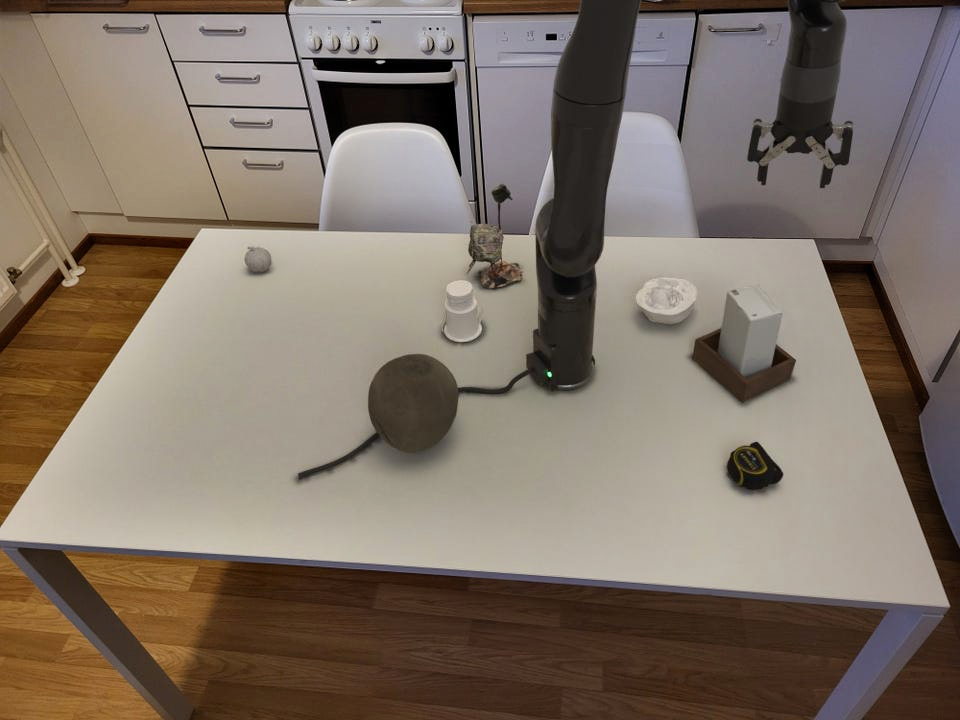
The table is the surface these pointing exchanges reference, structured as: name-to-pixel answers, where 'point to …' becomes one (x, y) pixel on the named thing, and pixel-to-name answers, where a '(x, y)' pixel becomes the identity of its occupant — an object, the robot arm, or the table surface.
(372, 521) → the table surface
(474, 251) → the plant with pod
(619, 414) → the table surface
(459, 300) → the downlight
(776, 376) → the crate
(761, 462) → the tape measure
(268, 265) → the garlic
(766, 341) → the cosmetic box
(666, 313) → the cell model
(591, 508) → the table surface
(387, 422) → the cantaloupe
